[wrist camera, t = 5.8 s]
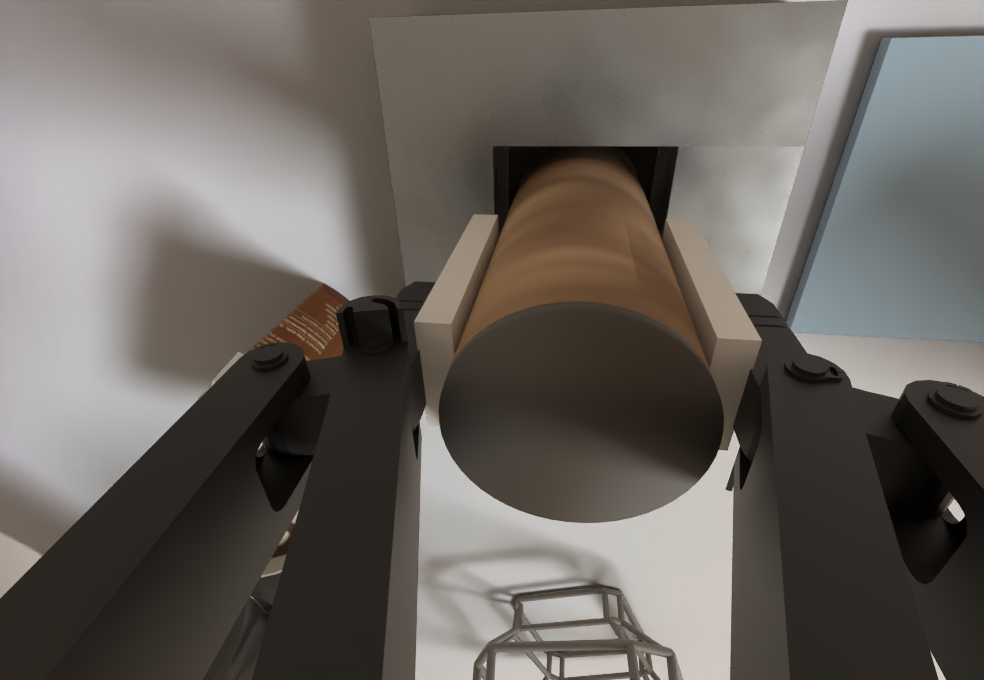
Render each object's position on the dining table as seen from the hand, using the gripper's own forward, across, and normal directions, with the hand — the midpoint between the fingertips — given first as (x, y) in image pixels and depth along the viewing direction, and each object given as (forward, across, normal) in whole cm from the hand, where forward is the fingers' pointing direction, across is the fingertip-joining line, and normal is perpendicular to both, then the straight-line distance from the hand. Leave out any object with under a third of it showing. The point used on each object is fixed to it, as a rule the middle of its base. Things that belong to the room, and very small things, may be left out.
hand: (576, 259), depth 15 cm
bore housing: (+6, 0, 0) cm, 6 cm away
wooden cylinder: (+6, 0, 0) cm, 6 cm away
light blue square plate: (+6, +15, 0) cm, 16 cm away
